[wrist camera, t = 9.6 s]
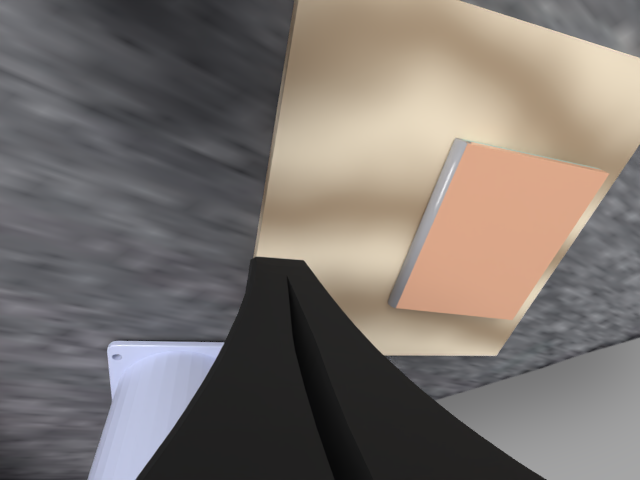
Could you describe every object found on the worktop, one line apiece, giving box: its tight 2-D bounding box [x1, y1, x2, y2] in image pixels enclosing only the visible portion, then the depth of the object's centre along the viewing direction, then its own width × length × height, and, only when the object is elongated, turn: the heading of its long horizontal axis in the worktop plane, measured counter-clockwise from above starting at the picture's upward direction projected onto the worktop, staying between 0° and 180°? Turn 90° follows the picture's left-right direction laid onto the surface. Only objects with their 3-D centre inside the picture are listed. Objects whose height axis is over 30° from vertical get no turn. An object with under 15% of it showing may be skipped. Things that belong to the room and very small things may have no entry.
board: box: [253, 0, 640, 356], centre depth 20 cm, size 20×19×1 cm
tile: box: [388, 138, 609, 320], centre depth 20 cm, size 10×8×1 cm
